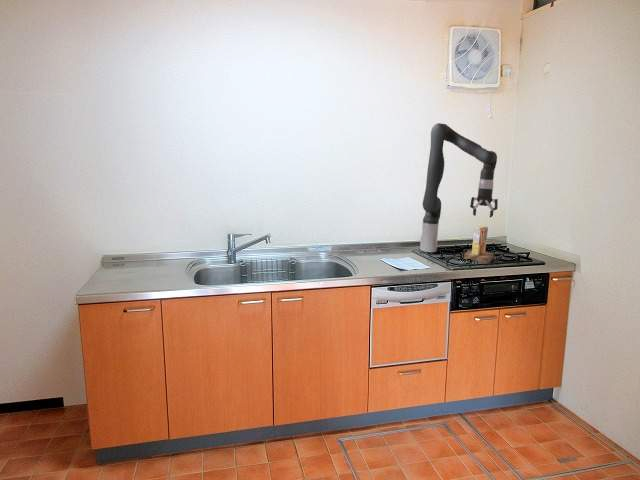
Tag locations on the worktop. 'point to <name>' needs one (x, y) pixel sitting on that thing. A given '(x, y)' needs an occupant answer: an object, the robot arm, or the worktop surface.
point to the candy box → (479, 240)
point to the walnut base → (479, 256)
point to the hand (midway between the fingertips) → (482, 216)
